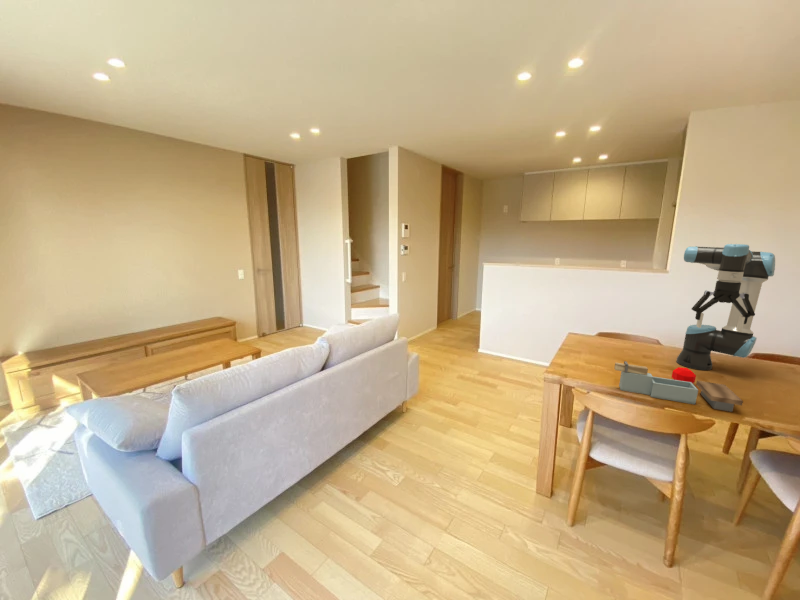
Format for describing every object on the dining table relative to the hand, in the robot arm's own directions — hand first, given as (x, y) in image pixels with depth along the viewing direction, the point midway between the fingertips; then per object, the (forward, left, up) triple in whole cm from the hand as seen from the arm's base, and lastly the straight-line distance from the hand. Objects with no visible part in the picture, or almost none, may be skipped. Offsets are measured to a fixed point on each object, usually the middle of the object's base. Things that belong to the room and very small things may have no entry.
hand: (718, 328), depth 143 cm
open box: (+6, -14, -33) cm, 36 cm away
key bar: (+6, -30, -23) cm, 39 cm away
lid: (+4, +3, -29) cm, 29 cm away
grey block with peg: (+6, -28, -33) cm, 43 cm away
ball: (-13, -4, -33) cm, 36 cm away
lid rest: (+4, +3, -33) cm, 33 cm away
